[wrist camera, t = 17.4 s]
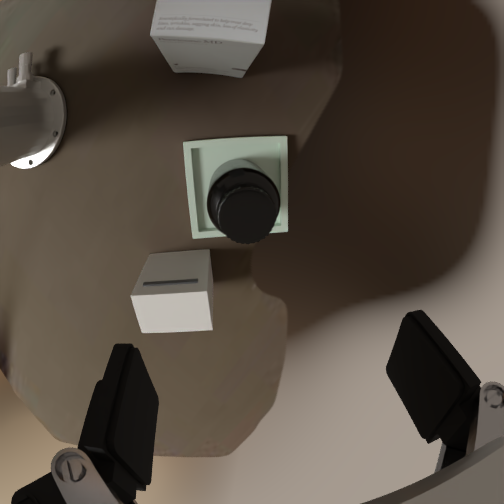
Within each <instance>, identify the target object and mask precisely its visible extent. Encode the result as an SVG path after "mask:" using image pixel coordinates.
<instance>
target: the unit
mask: <svg viewBox="0 0 504 504" xmlns="http://www.w3.org/2000/svg"><path fill="white" fill-rule="evenodd" d="M131 299H132V302H133V306H134V309H135V312H136V316H137V319H138V322H139V325H140V328H141V331H142V333H162V332H185V331H203V330H213V275H212V266H211V257H210V249H203V250H190V251H178V252H165V253H153V254H149V256H148V259H147V261H146V263H145V265H144V267H143V269H142V271H141V274H140V276H139V278H138V280H137V283H136V285H135V287H134V289H133V292H132V294H131Z"/></svg>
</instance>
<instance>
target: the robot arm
mask: <svg viewBox="0 0 504 504" xmlns="http://www.w3.org/2000/svg"><path fill="white" fill-rule="evenodd" d="M32 56H33V53H32V52H26V53H23V54H21V55H20V56H19V77H17V79H16V72H17V68H11V69H9V70H8V74H7V79H8V86H0V167H1V166H4V165H7V164H9V163H11V164H12V165H13V166H15V167H17V168H22V169H29V168H33V167H36V166H38V165H40V164H43V163H44V162H45V161H46V160H48V159H49V158H50V157H51V156H52V154H53V153H54V152H55V151H56V149H57V147H58V146H59V144H60V142H61V139H62V137H63V134H64V130H65V126H66V120H67V108H66V101H65V98H64V95H63V92H62V91H61V89H60V87H59V86H58V85H57V84H56V83H55V82H54V81H53V80H51V79H49V78H46V77H40V76H35V77H34V74H33V73H31V66H32ZM57 133H58V134H57ZM386 372H387V375H388V377H389V379H390V380H391V382H392V384H393V386H394V387H395V389H396V391H397V393H398V395H399V396H400V398H401V400H402V402H403V404H404V405H405V407H406V409H407V411H408V413H409V415H410V416H411V419H412V420H413V422H414V424H415V426H416V428H417V430H418V432H419V434H420V435H421V437H422V438H424V439H426V441H427V443H428V444H429V443H431V442H433V441H435V440H437V439H439V438H441V440H442V446H441V450H440V454H439V458H438V462H437V466H436V469H435V473H434V474H432V475H430V476H428V477H426V478H424V479H422V480H420V481H418V482H415V483H413V484H411V485H409V486H406V487H404V488H402V489H399V490H397V491H394V492H392V493H389V494H387V495H384V496H382V497H379V498H376V499H373V500H370V501H368V502H365V503H362V504H504V386H503V385H501V384H500V383H497V382H488V383H486V384H484V385H483V387H482V388H481V387H480V386H479V385H480V383H481V381H480V379H479V378H478V377H477V376H476V374H475V373H474V372H473V371H472V369H471V368H470V367H469V365H468V364H467V363H466V361H465V360H464V359H463V358H462V356H461V355H460V354H459V353H458V351H457V350H456V349H455V348H454V347H453V345H452V344H451V343H450V342H449V340H448V339H447V338H446V337H445V336H444V334H443V333H442V332H441V331H440V330H439V329H438V327H437V326H436V325H435V324H434V323H433V322H432V320H431V319H430V318H429V317H428V316H427V315H426V314H425V312H423V311H422V310H417V311H413V312H408V313H407V314H406V316H405V317H404V318H403V320H402V322H401V326H400V329H399V332H398V335H397V338H396V341H395V344H394V347H393V350H392V352H391V355H390V358H389V360H388V363H387V366H386ZM158 406H159V400H158V395H157V393H156V391H155V388H154V386H153V384H152V381H151V379H150V377H149V374H148V372H147V369H146V367H145V364H144V362H143V359H142V357H141V354H140V351H139V349H138V348H134V346H133V345H132V344H115V345H114V347H113V350H112V353H111V356H110V358H109V361H108V364H107V367H106V370H105V373H104V377H103V380H99V381H98V382H97V384H96V386H95V389H94V392H93V395H92V398H91V401H90V405H89V408H88V411H87V415H86V418H85V422H84V425H83V429H82V433H81V436H80V440H79V444H78V448H77V449H76V448H65V449H62V450H60V451H59V452H58V453H57V454H56V455H55V456H54V458H53V460H52V463H51V472H50V473H48V474H46V475H44V476H43V477H41V478H39V479H37V480H36V481H34V482H32V483H30V484H28V485H26V486H25V487H23V488H21V489H19V490H18V491H16V492H15V493H14V495H13V497H12V501H11V504H137V502H136V501H135V500H134V499H136V490H140V491H146V485H150V483H151V476H152V462H153V452H154V441H155V432H156V423H157V414H158Z"/></svg>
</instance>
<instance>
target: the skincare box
mask: <svg viewBox="0 0 504 504" xmlns="http://www.w3.org/2000/svg"><path fill="white" fill-rule="evenodd" d="M271 3H272V0H157V2H156V6H155V11H154V16H153V21H152V27H151V32H150V36H151V37H152V38H153V40H154V41H155V43H156V45H157V46H158V48H159V49H160V51H161V53H162V54H163V56H164V58H165V59H166V61H167V62H168V64H169V66H170V67H171V69H172V70H173V72H175V73H183V72H193V73H209V74H218V75H226V76H232V77H237V78H242V77H243V76H244V74H245V73H246V71H247V70H248V68H249V67H250V65H251V63H252V62H253V60H254V59H255V58H256V56H257V55H258V53H259V52H260V50H261V49H262V47H263V46H264V44H265V38H266V32H267V26H268V20H269V14H270V8H271Z"/></svg>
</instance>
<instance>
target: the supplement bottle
mask: <svg viewBox="0 0 504 504" xmlns="http://www.w3.org/2000/svg"><path fill="white" fill-rule="evenodd" d="M279 211H280V195H279V192H278V189H277V187H276V185H275V183H274V182H273V181H272V179H271V178H270V177H269V176H268V175H267V174H266V173H265V172H264V171H263V170H262V169H261V168H260V167H259V166H258V165H257V164H255V163H253V162H251V161H249V160H245V159H233V160H229V161H227V162H225V163H223V164H222V165H220V166H219V167H218V168H217V169H216V170H215V172H214V173H213V175H212V177H211V180H210V185H209V190H208V196H207V212H208V215H209V218H210V220H211V222H212V223H213V225H214V226H215V227H216V228H217V229H218V230H219V231H220V232H221V233H223V234H225V235H226V236H227V237H228V238H230V239H231V240H232V241H236V242H237V243H242V244H244V243H246V244H250V243H255V242H259V241H260V240H261V239H264V238H265V236H268V234H269V233H270V232H271V231H272V228H273V227H274V226H275V222H276V219H277V217H278V214H279Z"/></svg>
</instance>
